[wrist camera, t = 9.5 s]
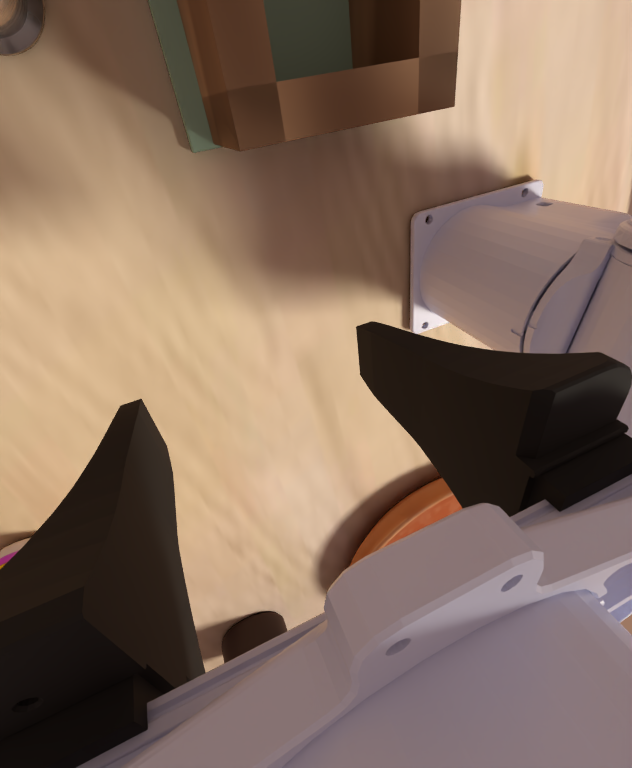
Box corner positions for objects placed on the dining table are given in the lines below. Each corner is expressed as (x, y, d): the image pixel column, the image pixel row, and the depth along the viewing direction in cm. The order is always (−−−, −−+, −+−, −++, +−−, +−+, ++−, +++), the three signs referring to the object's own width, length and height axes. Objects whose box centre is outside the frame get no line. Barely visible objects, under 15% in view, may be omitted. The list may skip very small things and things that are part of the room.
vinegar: (222, 657, 42) (278, 967, 26) (218, 626, 38) (280, 965, 23) (282, 633, 44) (365, 905, 29) (283, 601, 40) (380, 894, 25)
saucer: (321, 521, 36) (337, 556, 33) (519, 423, 40) (549, 446, 37) (353, 617, 50) (367, 646, 47) (497, 536, 54) (518, 559, 51)
